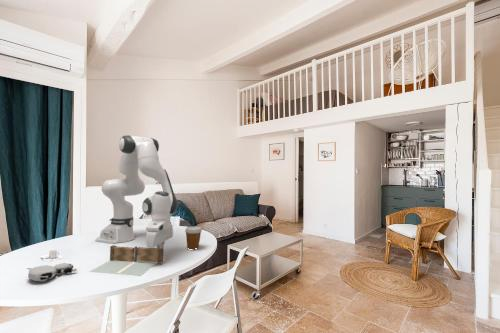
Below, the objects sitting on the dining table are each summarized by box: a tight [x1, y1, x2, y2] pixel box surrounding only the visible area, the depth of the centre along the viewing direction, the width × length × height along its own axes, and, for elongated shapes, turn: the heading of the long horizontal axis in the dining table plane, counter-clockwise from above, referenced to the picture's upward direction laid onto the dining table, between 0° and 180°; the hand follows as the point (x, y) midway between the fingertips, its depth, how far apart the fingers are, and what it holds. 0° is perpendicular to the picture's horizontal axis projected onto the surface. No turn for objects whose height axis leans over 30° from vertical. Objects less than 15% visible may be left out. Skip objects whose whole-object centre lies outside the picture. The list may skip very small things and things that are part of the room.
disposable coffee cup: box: [184, 226, 203, 249], centre depth 143 cm, size 10×10×12 cm
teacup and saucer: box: [40, 249, 64, 262], centre depth 122 cm, size 9×8×4 cm
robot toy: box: [26, 262, 78, 283], centre depth 102 cm, size 12×4×15 cm
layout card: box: [89, 260, 158, 277], centre depth 115 cm, size 24×20×1 cm
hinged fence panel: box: [137, 246, 165, 264], centre depth 118 cm, size 13×2×6 cm, turn 83°
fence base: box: [109, 244, 138, 262], centre depth 120 cm, size 14×2×7 cm, turn 83°
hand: (160, 250), depth 123 cm, fingers closed
